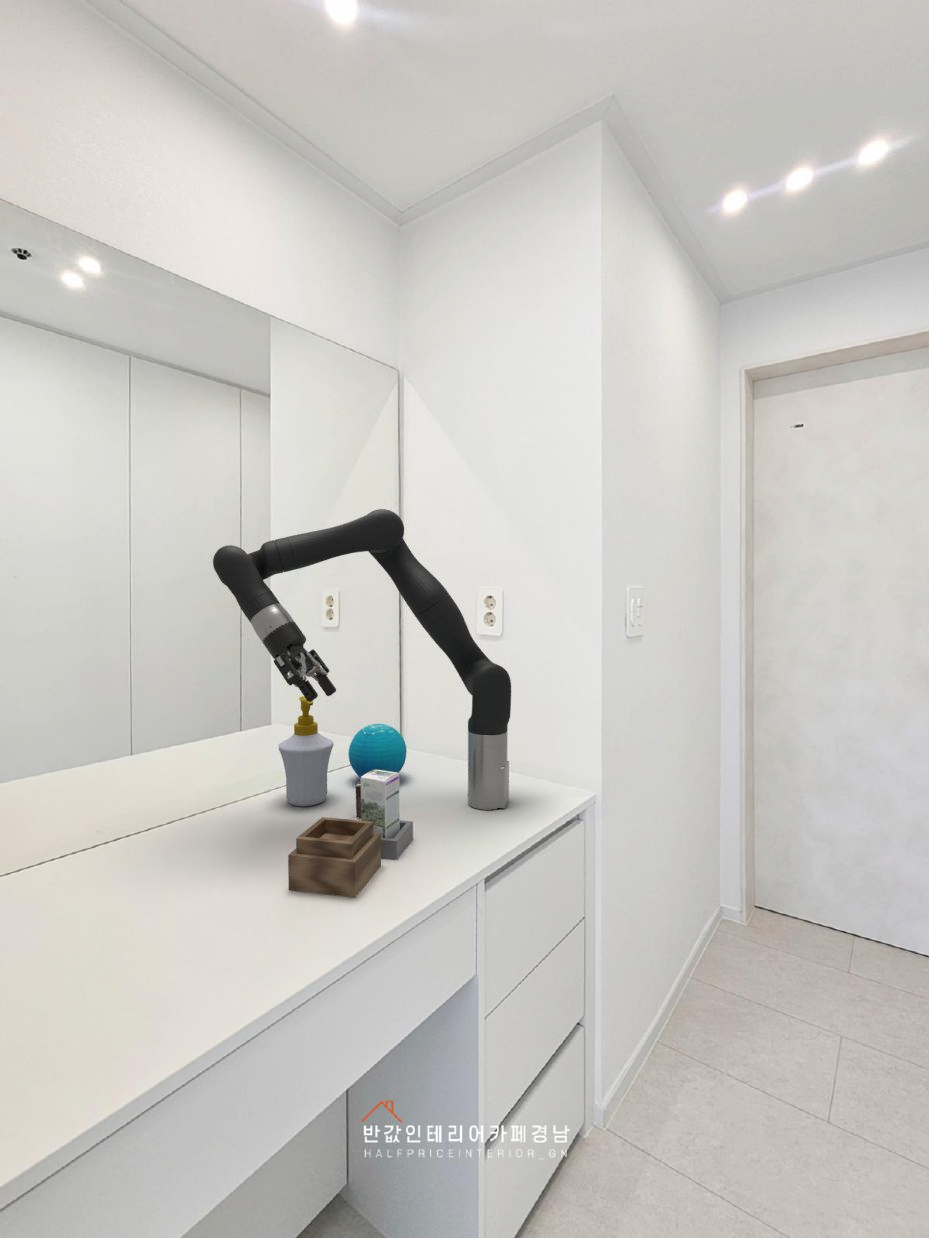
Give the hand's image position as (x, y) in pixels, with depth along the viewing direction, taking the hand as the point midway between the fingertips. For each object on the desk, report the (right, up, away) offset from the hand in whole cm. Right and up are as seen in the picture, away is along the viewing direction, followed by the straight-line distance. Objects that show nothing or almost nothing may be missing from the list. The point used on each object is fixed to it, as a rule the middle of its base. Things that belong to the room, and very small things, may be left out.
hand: (323, 696), depth 124 cm
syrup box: (+12, -29, -1) cm, 32 cm away
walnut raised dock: (+6, -30, -14) cm, 34 cm away
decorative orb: (+5, -27, +39) cm, 48 cm away
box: (+7, -28, +16) cm, 34 cm away
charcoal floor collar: (+12, -29, -1) cm, 31 cm away
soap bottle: (-9, -28, +24) cm, 38 cm away
